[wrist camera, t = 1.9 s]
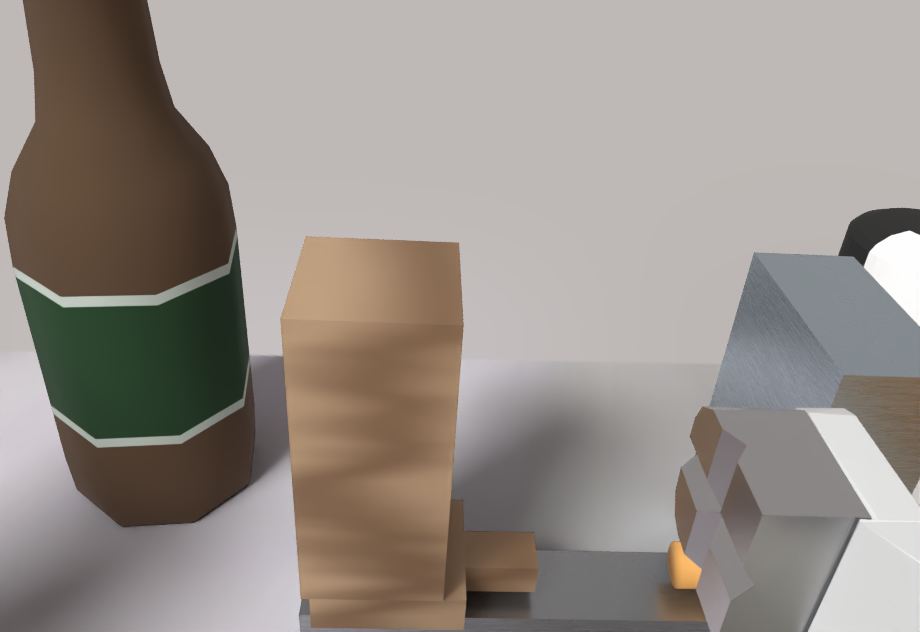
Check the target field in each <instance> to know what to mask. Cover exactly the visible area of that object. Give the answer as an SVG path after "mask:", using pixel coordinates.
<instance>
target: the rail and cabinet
mask: <svg viewBox="0 0 920 632" xmlns="http://www.w3.org/2000/svg"><path fill="white" fill-rule="evenodd" d="M709 407H732V408H769V409H796V408H844V409H846V410H848V411H849V412H851V413H853V414H854V415H855V416H856V417H857V418H858V420H859V421H860V423H861V424H862V425H863V427H864V428H865V430H866V431H867V433H868V434H869V435H870V437H871V438H872V440H873V441H874V443H875V444H876V445H877V447H878V448H879V450H880V451H881V453H882V454H883V455H884V457H885V458H886V460H887V461H888V462H889V464H890V465H891V467H892V468H893V470H894V471H895V472H896V474H897V475H898V477H899V478H900V480H901V481H902V482H903V484H904V485H905V487H906V488H907V489H908V491H909V492H910V494H911V495H912V493H913V491H914V489H915V487H916V485H917V483H918V481H919V479H920V326H919V325H918V324H917V323H916V322H915V321H914V320H913V319H912V318H911V317H910V316H909V315H908V313H907V312H906V311H905V310H904V309H903V308H902V307H901V306H900V305H899V304H898V303H897V302H896V301H895V300H894V299H893V298H892V297H891V296H890V295H889V293H888V292H887V291H886V290H885V289H884V288H883V287H882V286H881V285H880V284H879V283H878V282H877V281H876V280H875V279H874V278H873V277H872V276H871V274H870V273H869V272H868V271H867V270H866V269H865V268H864V267H863V266H862V265H861V264H860V263H859V262H858V261H857V260H856V259H855V258H854V257H849V256H823V255H800V254H777V253H754V255H753V258H752V262H751V265H750V269H749V272H748V275H747V279H746V282H745V286H744V289H743V293H742V296H741V300H740V303H739V306H738V310H737V313H736V317H735V320H734V324H733V327H732V331H731V334H730V337H729V341H728V344H727V348H726V352H725V355H724V358H723V362H722V365H721V368H720V372H719V375H718V379H717V382H716V386H715V389H714V393H713V396H712V399H711V403H710V406H709ZM696 455H697V453H696ZM696 455H695V456H696ZM536 552H537V559H538V566H539V571H538V577H537V583H536V589H535V592H494V591H466V610H465V621H464V630H428V629H361V628H311V621H310V605H309V599H302V601H301V607H300V613H299V621H300V632H710V629H709V626H708V623H707V621H706V618H705V615H704V612H703V609H702V606H701V603H700V600H699V597H698V594H697V591H696V589H676V588H674V587H673V585H672V583H671V580H670V577H669V572H668V553H650V552H601V551H552V550H536Z"/></svg>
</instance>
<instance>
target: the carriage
mask: <svg viewBox="0 0 920 632" xmlns="http://www.w3.org/2000/svg"><path fill="white" fill-rule="evenodd" d="M281 333H282V346H283V360H284V374H285V388H286V402H287V415H288V429H289V443H290V457H291V471H292V484H293V498H294V512H295V526H296V539H297V553H298V567H299V581H300V594H301V599H309V605H310V621H311V628H361V629H428V630H464V621H465V610H466V591H494V592H535V589H536V583H537V577H538V571H539V566H538V559H537V552H536V545H535V537H534V532H488V531H464V525H463V500H451V487H452V474H453V460H454V447H455V433H456V420H457V406H458V393H459V379H460V365H461V352H462V338H463V309H462V291H461V273H460V253H459V243H451V242H428V241H404V240H379V239H354V238H331V237H306V238H305V241H304V244H303V247H302V251H301V254H300V257H299V260H298V264H297V267H296V270H295V273H294V277H293V280H292V283H291V286H290V290H289V293H288V296H287V300H286V303H285V306H284V309H283V312H282V316H281Z"/></svg>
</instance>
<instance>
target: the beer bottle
mask: <svg viewBox="0 0 920 632" xmlns="http://www.w3.org/2000/svg"><path fill="white" fill-rule="evenodd" d="M23 4H24V10H25V17H26V23H27V30H28V36H29V43H30V48H31V55H32V62H33V68H34V86H35V120H36V121H35V123H34V126H33V128H32V130H31V132H30V134H29V136H28V138H27V140H26V143H25V144H24V147H23V149H22V151H21V153H20V155H19V157H18V159H17V161H16V163H15V165H14V168H13V170H12V173H11V179H10V185H9V191H8V198H7V205H6V211H5V217H4V219H5V224H6V230H7V236H8V242H9V247H10V253H11V258H12V264H13V269H14V273H15V276H16V280H17V283H18V287H19V291H20V294H21V298H22V302H23V305H24V309H25V312H26V316H27V320H28V323H29V327H30V331H31V334H32V338H33V342H34V345H35V349H36V353H37V356H38V360H39V363H40V367H41V371H42V374H43V378H44V382H45V385H46V389H47V393H48V396H49V400H50V403H51V407H52V411H53V414H54V418H55V422H56V425H57V429H58V432H59V436H60V440H61V443H62V447H63V451H64V454H65V458H66V461H67V463H68V466H69V469H70V472H71V474H72V477H73V480H74V482H75V485H76V488H77V490H78V491H80V492H81V493H82V494H83V495H84V496H86V497H87V498H88V499H89V500H90V501H92V502H93V503H94V504H95V505H96V506H98V507H99V508H100V509H101V510H102V511H104V512H105V513H106V514H107V515H108V516H110V517H111V518H112V519H113V520H114V521H116V522H117V523H118V524H119V525H121V526H122V527H131V526H147V525H164V524H180V523H194V522H195V521H197V520H198V519H200V518H201V517H202V516H204V515H205V514H207V513H208V512H210V511H211V510H213V509H214V508H215V507H217V506H218V505H220V504H221V503H223V502H224V501H226V500H227V499H228V498H230V497H231V496H233V495H234V494H236V493H237V492H239V491H240V490H242V489H243V488H244V487H246V486H247V484H248V483H249V481H250V475H251V467H252V458H253V450H254V441H255V412H254V397H253V387H252V377H251V367H250V357H249V347H248V339H247V328H246V318H245V308H244V298H243V288H242V278H241V268H240V259H239V249H238V238H237V228H236V223H235V217H234V212H233V207H232V201H231V196H230V191H229V185H228V182H227V180H226V178H225V177H224V175H223V173H222V171H221V169H220V167H219V165H218V163H217V161H216V159H215V157H214V155H213V153H212V151H211V149H210V147H209V146H208V144H207V143H206V142H205V141H204V140H203V139H202V138H201V136H200V135H199V134H198V133H197V132H196V131H195V130H194V129H193V127H192V126H191V125H190V124H189V123H188V122H187V121H186V120H185V118H184V117H183V116H182V115H181V114H180V113H179V112H178V111H177V109H176V108H175V107H174V104H173V102H172V98H171V95H170V92H169V89H168V86H167V83H166V80H165V77H164V74H163V71H162V68H161V64H160V61H159V56H158V51H157V46H156V41H155V37H154V32H153V27H152V22H151V17H150V12H149V7H148V3H147V0H23Z"/></svg>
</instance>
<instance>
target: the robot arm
mask: <svg viewBox="0 0 920 632" xmlns="http://www.w3.org/2000/svg"><path fill="white" fill-rule="evenodd" d="M690 438H691V440H692V443H693V445H694V448H695V450H696V453H697V455H696V456H694V457H693V458H692V459H691V460H690V461H688V462H687V463H686V464H685V465H684V466H682V467H681V470H680V474H679V479H678V483H677V487H676V494H675V518H676V525H677V531H678V536H679V539H680V542H681V545H682V549H683V552H684V554H685V555H686V556H687V557H688V558H689V559H690V560H692V561H693V562H694V563H695V564H696V565H697V566H698V567H700V568H701V569H702V571H701V574H700V577H699V581H698V584H697V587H696V591H697V594H698V597H699V600H700V603H701V606H702V609H703V612H704V615H705V618H706V621H707V623H708V626H709V629H710V632H920V507H919V505H918V504H917V502H916V501H915V499H914V498H913V497H912V495H911V494H910V492H909V491H908V489H907V488H906V487H905V485H904V484H903V482H902V481H901V480H900V478H899V477H898V475H897V474H896V472H895V471H894V470H893V468H892V467H891V465H890V464H889V462H888V461H887V460H886V458H885V457H884V455H883V454H882V453H881V451H880V450H879V448H878V447H877V445H876V444H875V443H874V441H873V440H872V438H871V437H870V435H869V434H868V433H867V431H866V430H865V428H864V427H863V425H862V424H861V423H860V421H859V420H858V418H857V417H856V416H855V415H854V414H853V413H851V412H849V411H848V410H846V409H844V408H796V409H769V408H732V407H702V408H701V410H700V411H699V413H698V414H697V416H696V417H695V421H694V424H693V427H692V431H691V434H690Z"/></svg>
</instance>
